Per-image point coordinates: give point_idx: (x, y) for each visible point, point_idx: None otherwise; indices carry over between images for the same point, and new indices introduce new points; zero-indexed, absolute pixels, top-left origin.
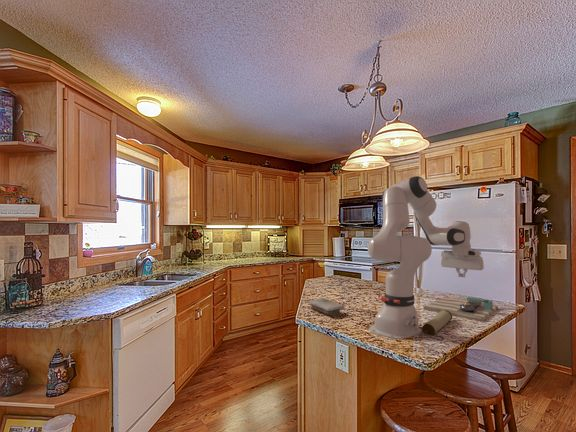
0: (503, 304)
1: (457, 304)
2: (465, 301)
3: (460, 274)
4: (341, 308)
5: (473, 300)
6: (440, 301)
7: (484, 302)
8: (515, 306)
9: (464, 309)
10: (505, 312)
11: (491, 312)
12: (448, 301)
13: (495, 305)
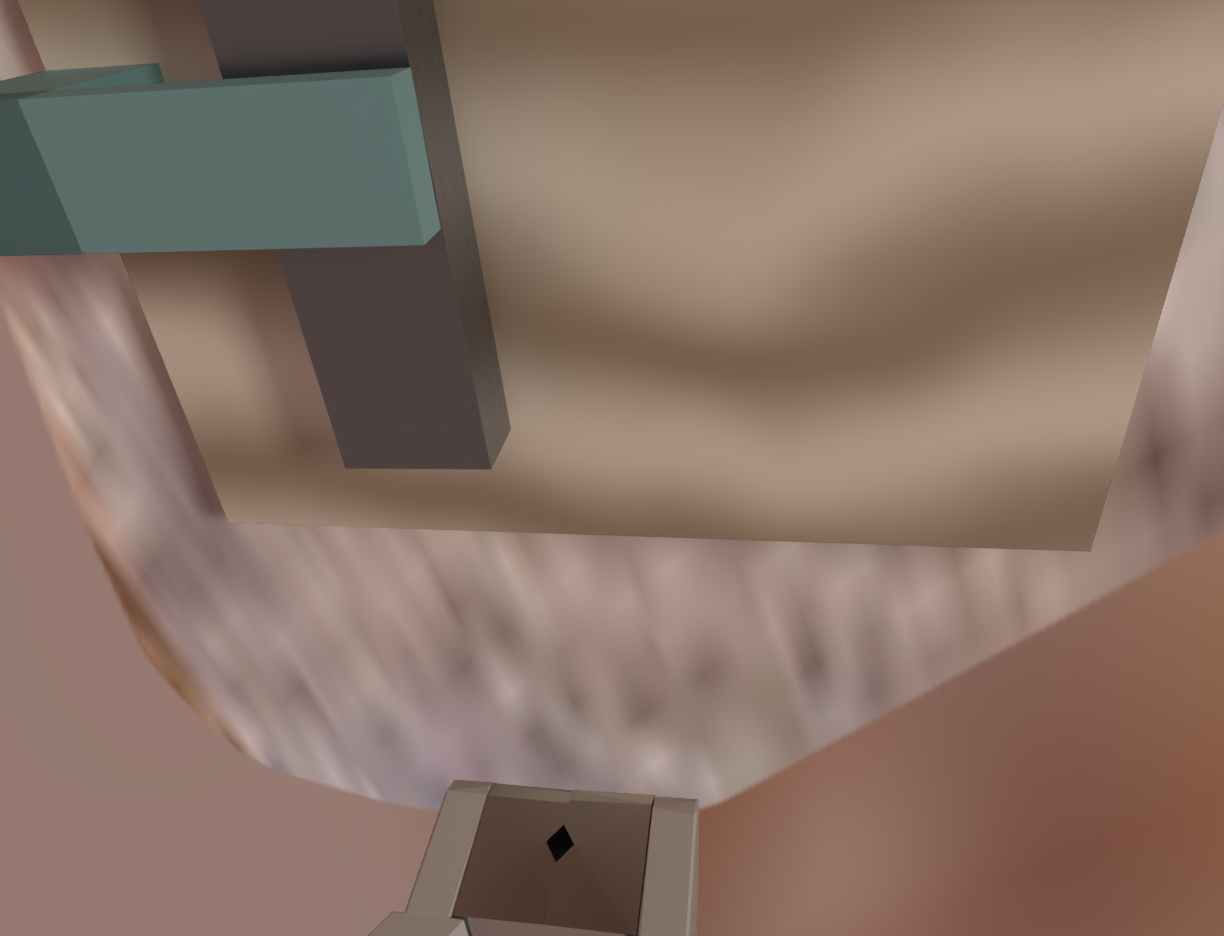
0: (326, 712)
1: (682, 67)
2: (652, 441)
3: (585, 892)
4: None
5: (257, 81)
6: (1112, 26)
7: (37, 93)
8: (210, 703)
9: None
10: (75, 354)
11: None
12: (928, 195)
13: (242, 502)
